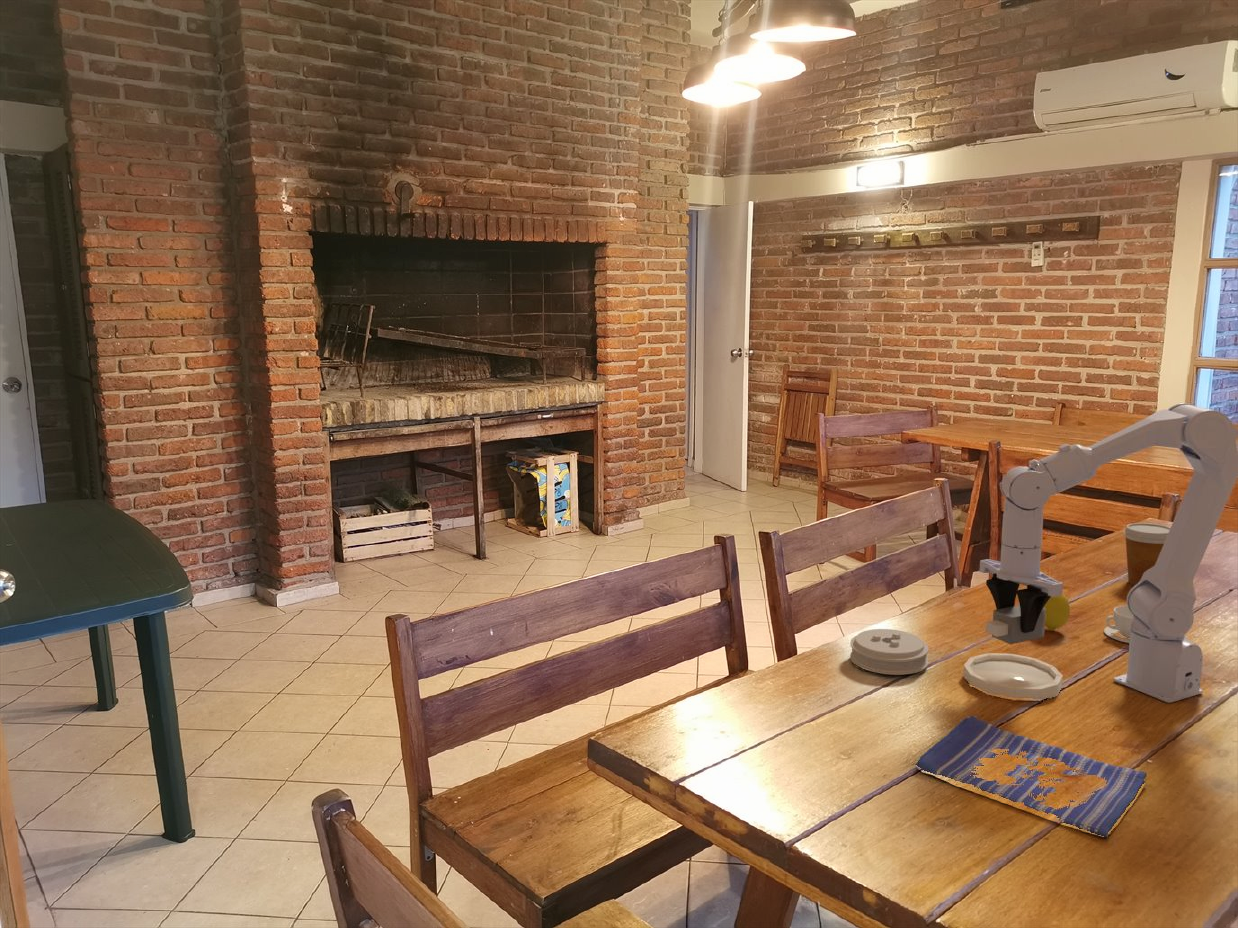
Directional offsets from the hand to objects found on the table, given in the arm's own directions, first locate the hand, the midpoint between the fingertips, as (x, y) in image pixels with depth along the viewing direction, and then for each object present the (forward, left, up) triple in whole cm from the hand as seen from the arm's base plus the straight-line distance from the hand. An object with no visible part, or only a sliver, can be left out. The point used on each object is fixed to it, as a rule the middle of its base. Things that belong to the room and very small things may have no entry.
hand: (1016, 627), depth 145 cm
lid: (+15, +13, -9) cm, 22 cm away
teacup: (+4, -34, -9) cm, 35 cm away
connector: (0, 0, -2) cm, 2 cm away
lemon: (+13, -23, -9) cm, 28 cm away
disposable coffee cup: (+23, -62, -9) cm, 67 cm away
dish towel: (-22, +22, -10) cm, 33 cm away
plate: (0, +1, -9) cm, 9 cm away
